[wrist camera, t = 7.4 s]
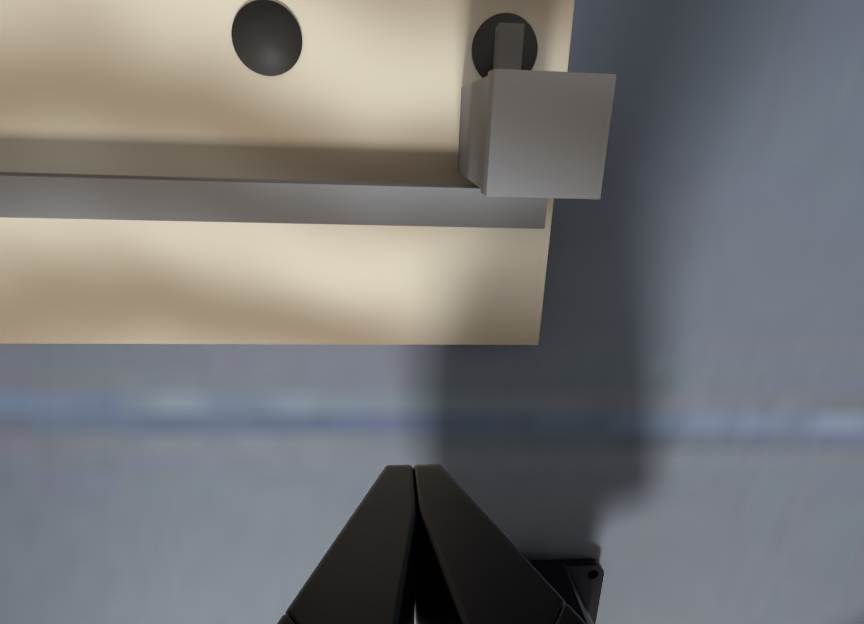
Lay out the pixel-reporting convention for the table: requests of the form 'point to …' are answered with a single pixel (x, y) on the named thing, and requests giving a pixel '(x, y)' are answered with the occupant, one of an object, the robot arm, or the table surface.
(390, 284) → the board
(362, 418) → the table surface
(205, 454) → the table surface
